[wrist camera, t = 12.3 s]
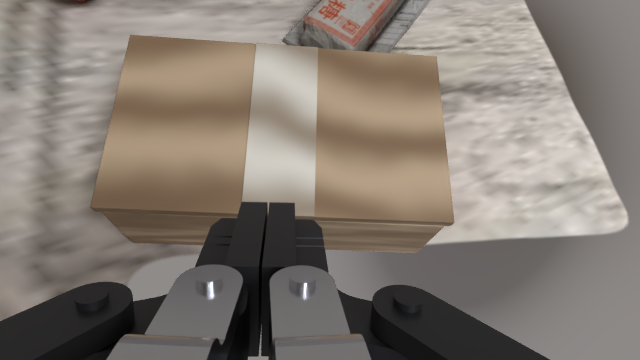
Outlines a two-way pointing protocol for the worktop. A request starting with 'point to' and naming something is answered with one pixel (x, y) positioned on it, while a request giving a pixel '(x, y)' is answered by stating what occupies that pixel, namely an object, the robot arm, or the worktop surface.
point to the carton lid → (276, 133)
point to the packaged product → (356, 24)
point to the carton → (334, 232)
